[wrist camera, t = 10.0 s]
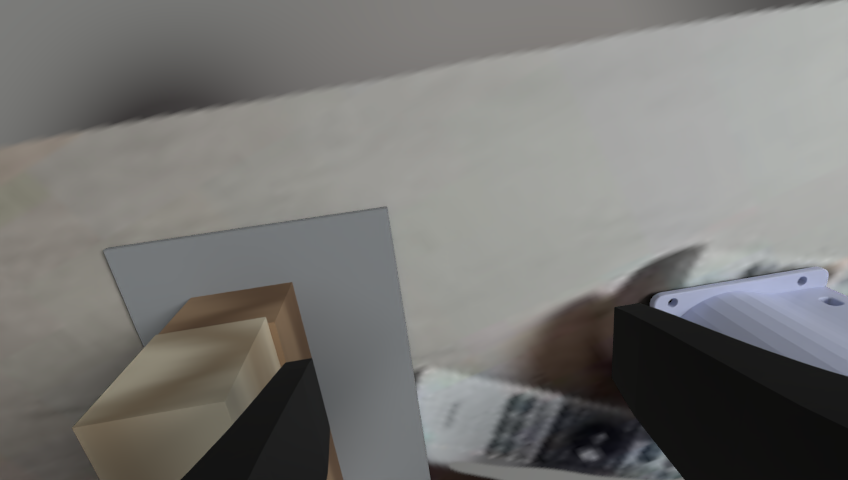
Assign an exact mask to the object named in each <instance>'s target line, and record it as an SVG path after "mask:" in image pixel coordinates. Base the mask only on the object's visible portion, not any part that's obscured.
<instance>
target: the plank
mask: <svg viewBox="0 0 848 480" xmlns="http://www.w3.org/2000/svg"><path fill="white" fill-rule="evenodd" d="M280 368H281V366H280V363H279V360H278V356H277V353H276V349H275V346H274V343H273V339H272V336H271V333H270V329H269V326H268V323H267V319H266V317H262V318H256V319H250V320H244V321H238V322H232V323H226V324H220V325H214V326H208V327H201V328H195V329H189V330H183V331H177V332H171V333H165V334H159V335H155V336H154V337H153V338H152V340H151V341H150V342H149V343H148V344H147V345H146V346H145V347H144V348H143V350H142V351H141V352H140V353H139V354H138V355H137V356H136V357H135V358H134V360H133V361H132V362H131V363H130V364H129V365H128V366H127V367H126V368H125V370H124V371H123V372H122V373H121V374H120V375H119V376H118V377H117V378H116V380H115V381H114V382H113V383H112V384H111V385H110V386H109V387H108V389H107V390H106V391H105V392H104V393H103V394H102V395H101V396H100V397H99V399H98V400H97V401H96V402H95V403H94V404H93V405H92V406H91V407H90V409H89V410H88V411H87V412H86V413H85V414H84V415H83V416H82V417H81V419H80V420H79V421H78V422H77V423H76V424H75V425H74V426H73V427H72V429H73V431H74V433H75V435H76V437H77V438H78V440H79V442H80V444H81V446H82V448H83V450H84V451H85V453H86V455H87V457H88V459H89V461H90V462H91V464H92V466H93V468H94V470H95V472H96V474H97V475H98V477H99V479H100V480H181V479H182V478H183V477H184V476H185V475H186V474H187V473H188V472H189V471H190V470H191V468H192V467H193V466H194V465H195V464H196V463H197V462H198V461H199V460H200V459H201V458H202V457H203V456H204V455H205V454H206V453H207V451H208V450H209V449H210V448H211V447H212V446H213V445H214V444H215V443H216V442H217V441H218V440H219V439H220V438H221V437H222V436H223V434H224V433H225V432H226V431H227V430H228V429H229V428H230V427H231V426H232V425H233V423H234V422H235V421H236V420H237V419H238V418H239V416H240V415H241V414H242V413H243V412H244V411H245V409H246V408H247V407H248V406H249V405H250V404H251V403H252V401H253V400H254V399H255V398H256V397H257V395H258V394H259V393H260V392H261V391H262V389H263V388H264V387H265V386H266V385H267V383H268V382H269V381H270V380H271V379H272V377H273V376H274V375H275V374H276V373H277V372H278V370H279V369H280Z"/></svg>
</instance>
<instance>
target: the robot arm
mask: <svg viewBox="0 0 848 480" xmlns="http://www.w3.org/2000/svg"><path fill="white" fill-rule="evenodd" d="M798 279H799V280H798ZM827 280H828V271H827V270H826V269H823V268H821V267H810V268H804V269H798V270H792V271H786V272H780V273H774V274H768V275H762V276H756V277H750V278H744V279H738V280H732V281H726V282H720V283H714V284H708V285H702V286H696V287H690V288H684V289H678V290H672V291H666V292H660V293H657V294H655V295H654V296H653V297H652V299H651V301H650V306H647V305H644V304H640V303H637V304H631V305H625V306H619V307H615V310H614V334H613V358H612V379H613V381H614V382H615V384H616V386H617V388H618V389H619V391H620V393H621V394H622V396H623V398H624V400H625V401H626V403H627V404H628V406H629V408H630V409H631V411H632V412H633V414H634V416H635V417H636V418H637V420H638V421H639V422H640V423H641V425H642V426H643V427H644V429H645V430H646V431H647V433H648V434H649V435H650V436H651V438H652V439H653V440H654V441H655V443H656V444H657V445H658V447H659V448H660V449H661V450H662V452H663V453H664V454H665V455H666V457H667V458H668V459H669V460H670V462H671V463H672V464H673V466H674V467H675V468H676V469H677V471H678V472H679V473H680V474H681V476H682V477H683V478H684V479H685V480H848V296H846V295H844V294H842V293H839V292H837V291H835V290H832V289H830V288H828V287H826V285H827ZM671 299H672V301H671V302H670V303H668V302H669V301H670V300H671ZM329 444H330V425H329V421H328V417H327V413H326V410H325V406H324V402H323V398H322V394H321V390H320V386H319V382H318V379H317V375H316V371H315V367H314V363H313V359H312V358H309V359H303V360H297V361H291V362H285V364H284V365H283V366H282V367H281V368H280V369H279V370H278V372H277V373H276V374H275V375H274V376H273V377H272V379H271V380H270V381H269V382H268V383H267V385H266V386H265V387H264V388H263V389H262V391H261V392H260V393H259V394H258V395H257V397H256V398H255V399H254V400H253V401H252V403H251V404H250V405H249V406H248V407H247V408H246V409H245V411H244V412H243V413H242V414H241V415H240V416H239V418H238V419H237V420H236V421H235V422H234V423H233V425H232V426H231V427H230V428H229V429H228V430H227V431H226V432H225V433H224V434H223V436H222V437H221V438H220V439H219V440H218V441H217V442H216V443H215V444H214V445H213V446H212V447H211V448H210V449H209V450H208V451H207V453H206V454H205V455H204V456H203V457H202V458H201V459H200V460H199V461H198V462H197V463H196V464H195V465H194V466H193V467H192V468H191V470H190V471H189V472H188V473H187V474H186V475H185V476H184V477H183V478H182V479H181V480H327V475H328V463H329Z"/></svg>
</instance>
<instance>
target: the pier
mask: <svg viewBox="0 0 848 480" xmlns="http://www.w3.org/2000/svg"><path fill="white" fill-rule="evenodd" d="M262 317H266V319H267V323H268V326H269V329H270V333H271V336H272V339H273V343H274V346H275V349H276V353H277V356H278V360H279V363H280V366H281V367H282V366H283V365H284V364H285V362H291V361H297V360H303V359H309V358H312V357H311V353H310V349H309V345H308V341H307V337H306V333H305V330H304V326H303V322H302V318H301V314H300V310H299V306H298V302H297V299H296V295H295V291H294V287H293V283H292V282H289V283H282V284H276V285H270V286H263V287H257V288H250V289H244V290H238V291H231V292H225V293H219V294H212V295H206V296H199V297H193V298H190V299H189V300H188V301H187V303H186V304H185V305H184V306H183V307H182V308H181V309H180V310H179V312H178V313H177V314H176V315H175V316H174V317H173V318H172V319H171V321H170V322H169V323H168V324H167V325H166V326H165V327H164V328H163V330H162V331H161V332H160V333H159V334H165V333H171V332H177V331H183V330H189V329H195V328H201V327H208V326H214V325H220V324H226V323H232V322H238V321H244V320H250V319H256V318H262ZM159 334H158V335H159Z"/></svg>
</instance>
